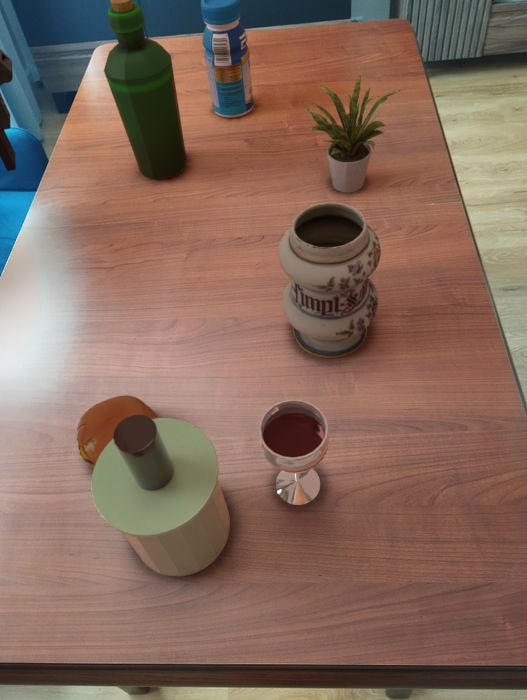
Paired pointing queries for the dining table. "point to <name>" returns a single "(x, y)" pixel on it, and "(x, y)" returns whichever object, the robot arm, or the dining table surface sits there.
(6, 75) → the robot arm
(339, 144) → the house plant
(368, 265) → the apothecary jar
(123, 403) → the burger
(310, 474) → the wineglass
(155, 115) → the bottle
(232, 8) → the beverage bottle
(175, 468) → the lid
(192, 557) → the canister
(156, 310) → the dining table surface
